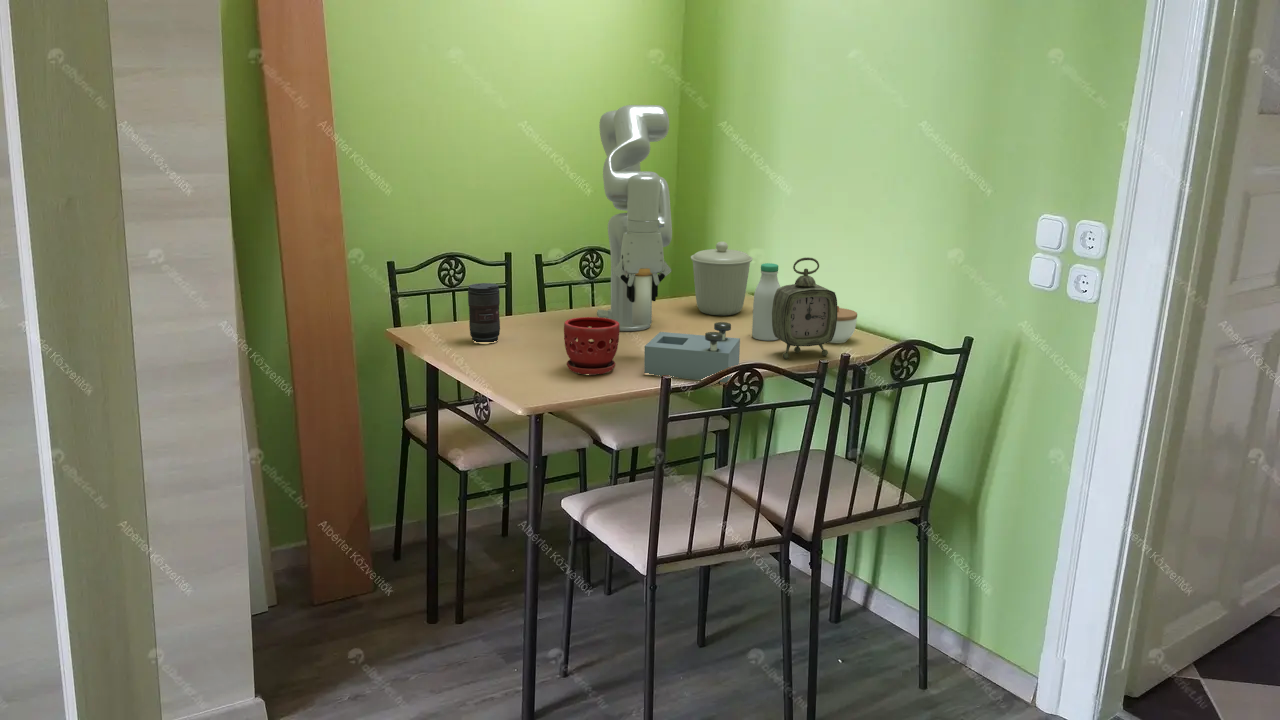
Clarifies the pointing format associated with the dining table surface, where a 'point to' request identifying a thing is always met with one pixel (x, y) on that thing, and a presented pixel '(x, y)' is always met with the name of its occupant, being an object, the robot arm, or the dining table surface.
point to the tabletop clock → (804, 313)
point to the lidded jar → (844, 325)
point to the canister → (720, 279)
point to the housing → (689, 356)
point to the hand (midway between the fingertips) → (642, 299)
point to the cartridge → (642, 298)
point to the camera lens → (484, 312)
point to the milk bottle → (765, 303)
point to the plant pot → (591, 344)
